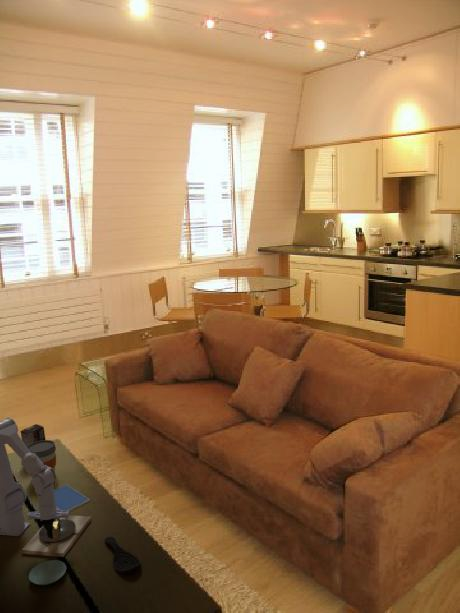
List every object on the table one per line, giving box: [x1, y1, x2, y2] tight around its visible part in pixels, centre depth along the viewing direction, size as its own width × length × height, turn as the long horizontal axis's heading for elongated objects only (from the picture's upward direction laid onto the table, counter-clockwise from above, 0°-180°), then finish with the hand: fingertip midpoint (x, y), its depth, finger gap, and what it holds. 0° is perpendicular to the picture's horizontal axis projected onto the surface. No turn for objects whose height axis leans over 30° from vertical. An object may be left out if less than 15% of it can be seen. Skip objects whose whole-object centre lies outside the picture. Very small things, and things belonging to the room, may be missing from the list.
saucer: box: [28, 559, 67, 586], centre depth 180 cm, size 12×12×2 cm
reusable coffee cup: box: [27, 439, 57, 473], centre depth 245 cm, size 13×12×15 cm
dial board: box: [21, 514, 92, 558], centre depth 201 cm, size 16×22×2 cm
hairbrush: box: [104, 536, 142, 574], centre depth 188 cm, size 8×4×25 cm
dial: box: [38, 518, 76, 543], centre depth 201 cm, size 13×13×5 cm
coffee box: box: [20, 423, 47, 447], centre depth 263 cm, size 9×6×16 cm
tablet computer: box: [54, 484, 90, 512], centre depth 227 cm, size 19×13×1 cm, turn 46°
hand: (51, 535), depth 196 cm, fingers closed, pressing on dial
